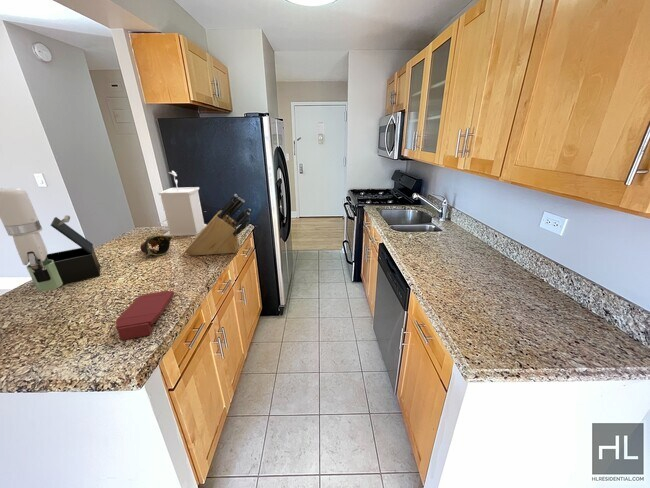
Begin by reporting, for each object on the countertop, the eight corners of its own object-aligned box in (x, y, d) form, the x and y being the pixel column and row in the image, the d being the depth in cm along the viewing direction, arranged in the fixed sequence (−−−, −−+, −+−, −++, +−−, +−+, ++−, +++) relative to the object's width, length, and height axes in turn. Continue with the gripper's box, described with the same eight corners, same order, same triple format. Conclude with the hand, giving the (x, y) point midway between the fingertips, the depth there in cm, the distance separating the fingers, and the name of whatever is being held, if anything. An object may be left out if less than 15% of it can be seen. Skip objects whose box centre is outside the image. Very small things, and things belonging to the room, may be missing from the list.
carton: (142, 306, 103) (112, 341, 80) (139, 294, 102) (108, 327, 78) (176, 300, 106) (157, 333, 83) (174, 289, 105) (154, 319, 82)
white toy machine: (159, 236, 166) (142, 172, 151) (177, 223, 191) (164, 167, 176) (198, 235, 168) (185, 171, 153) (210, 222, 193) (200, 167, 178)
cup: (33, 293, 88) (21, 269, 84) (43, 283, 93) (33, 261, 90) (57, 289, 90) (47, 266, 86) (66, 280, 95) (57, 258, 92)
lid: (50, 225, 104) (62, 217, 105) (54, 217, 113) (65, 210, 115) (90, 254, 114) (101, 246, 116) (91, 245, 124) (101, 238, 126)
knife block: (253, 252, 142) (247, 196, 131) (185, 257, 137) (172, 199, 126) (255, 244, 153) (249, 192, 141) (192, 248, 148) (180, 194, 136)
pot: (153, 230, 150) (167, 225, 140) (166, 245, 155) (182, 241, 145) (126, 249, 138) (140, 245, 128) (142, 264, 144) (156, 262, 134)
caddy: (49, 288, 109) (38, 265, 105) (53, 276, 119) (43, 254, 115) (100, 275, 119) (92, 254, 115) (99, 265, 129) (92, 245, 124)
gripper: (12, 223, 87) (34, 270, 94) (-1, 238, 75) (25, 291, 82) (44, 219, 92) (63, 264, 98) (36, 232, 79) (58, 283, 86)
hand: (45, 276), depth 90 cm, fingers closed on cup, 6 cm apart
